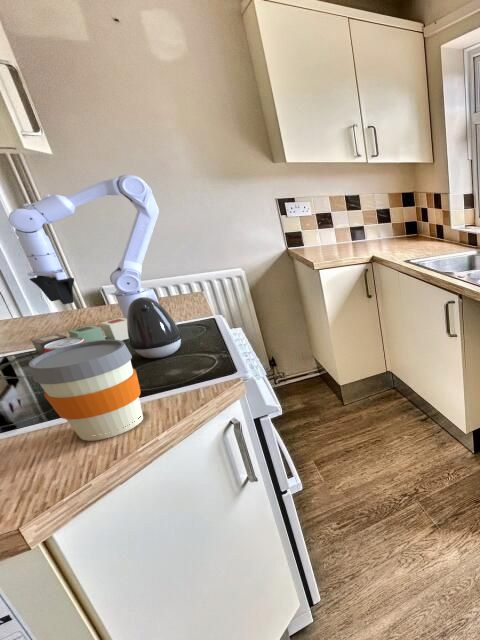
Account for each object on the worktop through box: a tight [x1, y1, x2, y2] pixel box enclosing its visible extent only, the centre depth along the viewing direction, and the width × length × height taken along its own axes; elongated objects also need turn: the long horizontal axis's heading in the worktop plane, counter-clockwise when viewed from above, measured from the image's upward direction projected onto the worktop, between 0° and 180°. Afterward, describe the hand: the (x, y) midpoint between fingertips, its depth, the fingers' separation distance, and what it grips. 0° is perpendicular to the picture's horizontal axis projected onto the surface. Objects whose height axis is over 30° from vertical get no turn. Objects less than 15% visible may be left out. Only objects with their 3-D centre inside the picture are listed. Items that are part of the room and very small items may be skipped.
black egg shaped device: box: [127, 297, 182, 359], centre depth 105 cm, size 10×10×15 cm
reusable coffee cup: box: [28, 339, 144, 442], centre depth 75 cm, size 13×13×15 cm
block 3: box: [99, 317, 129, 341], centre depth 119 cm, size 5×5×5 cm
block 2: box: [67, 324, 107, 342], centre depth 113 cm, size 5×5×5 cm
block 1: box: [31, 333, 68, 356], centre depth 107 cm, size 5×5×5 cm
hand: (62, 301), depth 121 cm, fingers open, 7 cm apart
